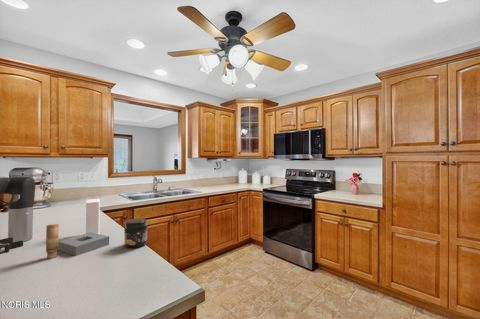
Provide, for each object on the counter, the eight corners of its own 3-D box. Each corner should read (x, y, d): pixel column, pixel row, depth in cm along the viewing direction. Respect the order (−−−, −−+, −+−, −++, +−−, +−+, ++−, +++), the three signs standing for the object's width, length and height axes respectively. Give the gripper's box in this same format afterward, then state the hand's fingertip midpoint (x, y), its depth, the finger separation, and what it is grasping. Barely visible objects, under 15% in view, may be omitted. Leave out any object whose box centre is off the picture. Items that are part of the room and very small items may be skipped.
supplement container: (118, 247, 108) (119, 222, 108) (136, 240, 118) (136, 217, 118) (135, 250, 104) (135, 224, 104) (152, 242, 114) (152, 219, 114)
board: (57, 249, 104) (57, 241, 104) (90, 239, 118) (90, 232, 118) (76, 255, 98) (76, 246, 98) (109, 244, 111) (109, 236, 111)
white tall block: (98, 235, 125) (99, 196, 125) (85, 237, 122) (86, 197, 122) (99, 232, 130) (99, 194, 130) (86, 234, 127) (87, 195, 127)
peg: (43, 258, 95) (44, 225, 95) (55, 254, 99) (55, 223, 99) (48, 260, 93) (49, 226, 93) (60, 256, 97) (60, 224, 97)
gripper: (-42, 248, 68) (26, 234, 83) (-57, 242, 74) (9, 229, 89) (-43, 273, 68) (26, 254, 83) (-58, 264, 74) (9, 248, 89)
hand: (17, 241), depth 86 cm, fingers open, 8 cm apart
